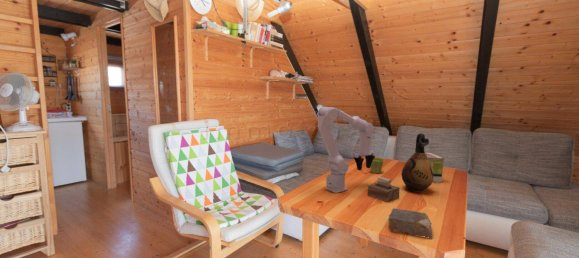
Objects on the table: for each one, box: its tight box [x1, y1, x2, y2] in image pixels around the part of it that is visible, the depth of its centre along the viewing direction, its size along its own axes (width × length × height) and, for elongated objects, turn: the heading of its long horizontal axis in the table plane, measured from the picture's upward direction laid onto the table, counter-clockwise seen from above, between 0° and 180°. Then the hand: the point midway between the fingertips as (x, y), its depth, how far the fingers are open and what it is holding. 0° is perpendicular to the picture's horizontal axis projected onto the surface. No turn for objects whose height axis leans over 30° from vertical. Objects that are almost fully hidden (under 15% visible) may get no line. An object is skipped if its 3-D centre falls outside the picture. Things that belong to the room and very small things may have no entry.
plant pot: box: [370, 157, 385, 174], centre depth 178 cm, size 9×9×9 cm
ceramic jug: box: [401, 132, 434, 194], centre depth 145 cm, size 17×15×30 cm
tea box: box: [425, 152, 445, 183], centre depth 166 cm, size 15×10×15 cm
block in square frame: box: [367, 182, 401, 203], centre depth 135 cm, size 10×11×5 cm
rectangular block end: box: [376, 176, 392, 190], centre depth 135 cm, size 2×6×7 cm, turn 36°
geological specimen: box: [388, 207, 433, 239], centre depth 103 cm, size 11×6×15 cm
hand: (363, 168), depth 150 cm, fingers open, 7 cm apart
